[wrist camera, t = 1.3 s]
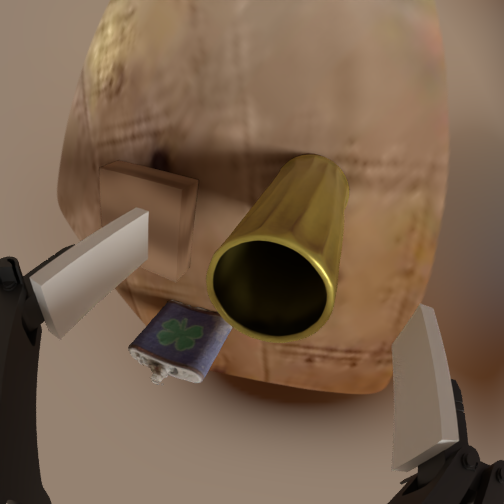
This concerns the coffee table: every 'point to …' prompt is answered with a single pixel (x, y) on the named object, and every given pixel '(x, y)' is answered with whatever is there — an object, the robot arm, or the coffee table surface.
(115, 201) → the plinth
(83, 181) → the coffee table surface
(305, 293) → the vase
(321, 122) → the coffee table surface
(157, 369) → the flask
